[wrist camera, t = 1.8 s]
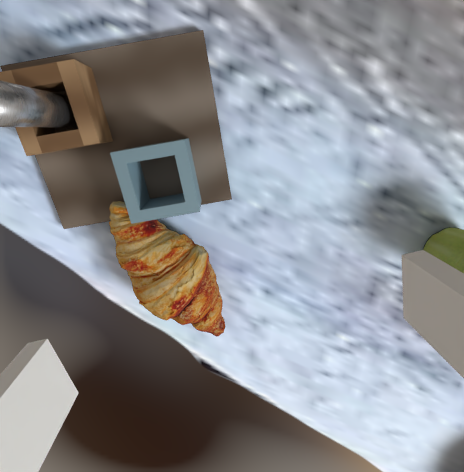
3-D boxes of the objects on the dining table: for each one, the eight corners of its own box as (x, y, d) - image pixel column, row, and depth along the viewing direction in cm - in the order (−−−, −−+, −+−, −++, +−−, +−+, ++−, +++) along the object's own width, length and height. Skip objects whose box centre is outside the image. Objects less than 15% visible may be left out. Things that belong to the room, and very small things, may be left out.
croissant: (109, 205, 38) (60, 241, 32) (154, 170, 32) (104, 206, 26) (207, 316, 44) (182, 363, 38) (260, 304, 38) (240, 357, 32)
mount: (21, 80, 29) (-7, 73, 25) (91, 68, 29) (73, 59, 25) (48, 152, 31) (26, 155, 28) (113, 141, 31) (99, 143, 28)
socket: (125, 149, 32) (109, 152, 27) (188, 138, 32) (184, 139, 27) (142, 210, 34) (131, 223, 30) (201, 200, 34) (199, 211, 30)
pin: (49, 98, 30) (-98, 71, 16) (78, 93, 30) (-43, 61, 16) (60, 129, 31) (-69, 130, 17) (88, 124, 31) (-17, 121, 17)
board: (5, 67, 29) (0, 66, 28) (203, 32, 29) (203, 30, 28) (67, 226, 35) (63, 229, 34) (231, 197, 35) (231, 199, 34)
